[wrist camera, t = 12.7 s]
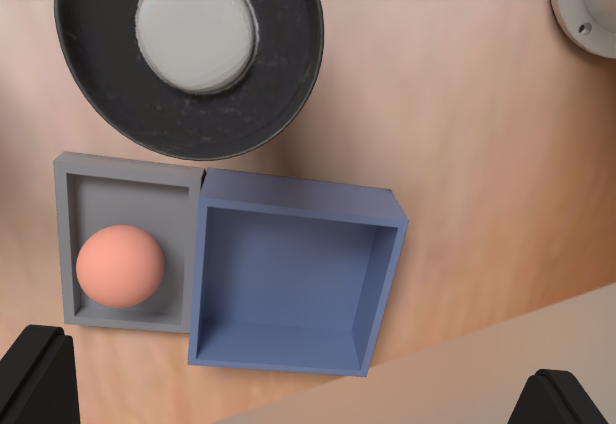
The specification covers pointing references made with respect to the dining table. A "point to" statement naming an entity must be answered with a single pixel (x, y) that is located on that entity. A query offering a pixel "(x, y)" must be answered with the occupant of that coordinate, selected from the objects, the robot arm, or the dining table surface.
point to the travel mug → (194, 69)
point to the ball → (120, 266)
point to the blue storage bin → (291, 273)
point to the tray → (135, 212)
